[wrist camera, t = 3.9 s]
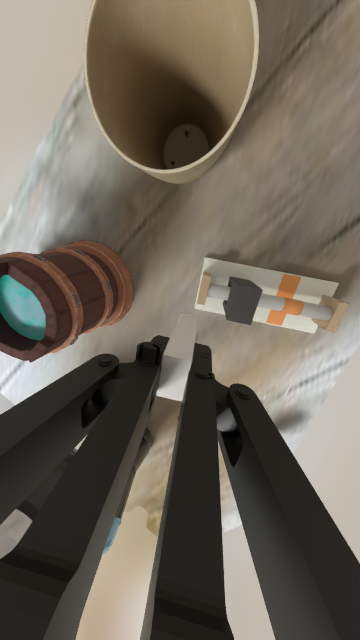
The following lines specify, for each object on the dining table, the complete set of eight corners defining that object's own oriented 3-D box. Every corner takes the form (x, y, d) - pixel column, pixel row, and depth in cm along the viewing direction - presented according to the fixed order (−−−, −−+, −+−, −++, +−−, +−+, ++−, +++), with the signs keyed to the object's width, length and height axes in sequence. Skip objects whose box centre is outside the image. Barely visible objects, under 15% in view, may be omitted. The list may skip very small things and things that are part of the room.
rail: (194, 306, 40) (192, 316, 34) (204, 257, 36) (204, 258, 30) (311, 331, 38) (329, 345, 33) (335, 282, 34) (359, 288, 29)
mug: (33, 222, 38) (-134, 197, 19) (141, 255, 37) (76, 263, 19) (34, 306, 45) (-88, 348, 26) (125, 336, 44) (67, 399, 26)
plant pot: (249, 108, 28) (297, -49, 13) (212, 217, 33) (217, 194, 19) (153, 76, 28) (93, -114, 13) (132, 190, 34) (74, 146, 19)
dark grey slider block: (222, 304, 37) (226, 320, 29) (230, 276, 35) (237, 284, 27) (241, 308, 36) (250, 324, 28) (250, 280, 34) (262, 289, 26)
